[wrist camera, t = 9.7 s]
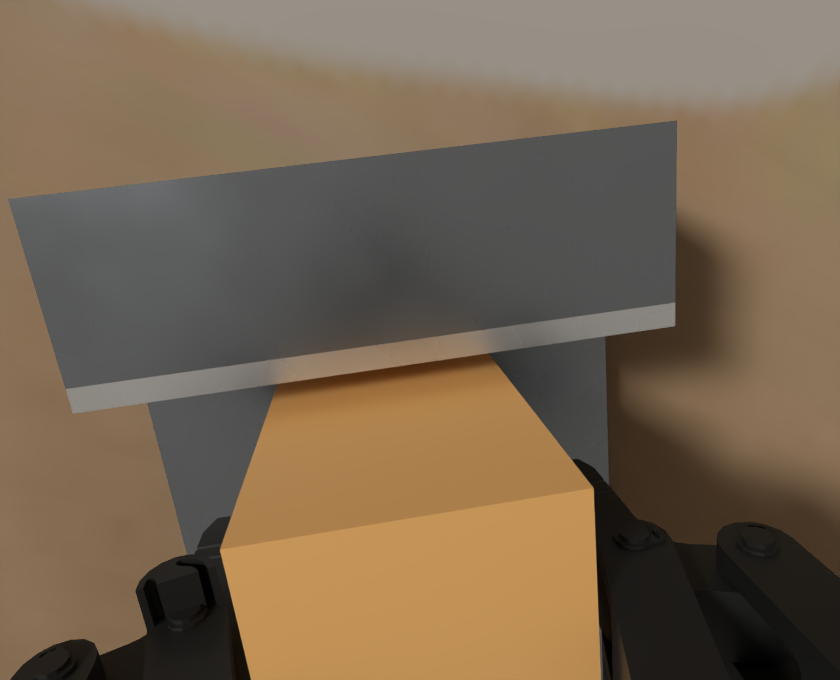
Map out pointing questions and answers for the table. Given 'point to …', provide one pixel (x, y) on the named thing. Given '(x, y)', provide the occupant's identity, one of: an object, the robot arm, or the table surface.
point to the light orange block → (413, 533)
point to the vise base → (355, 286)
